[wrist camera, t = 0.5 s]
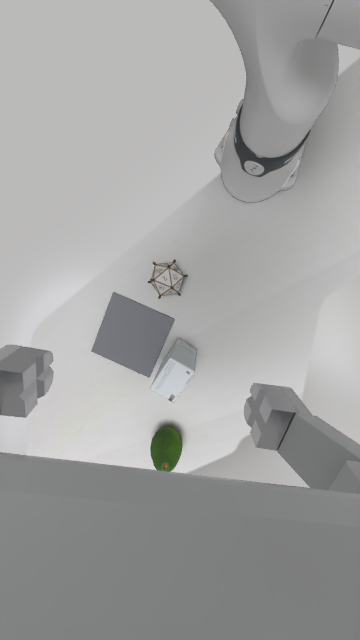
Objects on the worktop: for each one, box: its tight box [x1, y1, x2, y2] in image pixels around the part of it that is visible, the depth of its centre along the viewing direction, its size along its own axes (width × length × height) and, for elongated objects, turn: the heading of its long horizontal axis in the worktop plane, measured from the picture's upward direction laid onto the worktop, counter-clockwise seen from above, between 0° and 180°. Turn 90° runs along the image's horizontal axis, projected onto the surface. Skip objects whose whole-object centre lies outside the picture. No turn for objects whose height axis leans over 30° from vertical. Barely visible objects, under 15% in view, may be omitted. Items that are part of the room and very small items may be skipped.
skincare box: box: [150, 338, 196, 403], centre depth 49 cm, size 8×6×15 cm
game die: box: [147, 260, 188, 299], centre depth 50 cm, size 9×8×10 cm
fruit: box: [151, 427, 182, 472], centre depth 54 cm, size 8×8×12 cm
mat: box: [92, 292, 174, 377], centre depth 57 cm, size 17×17×1 cm
